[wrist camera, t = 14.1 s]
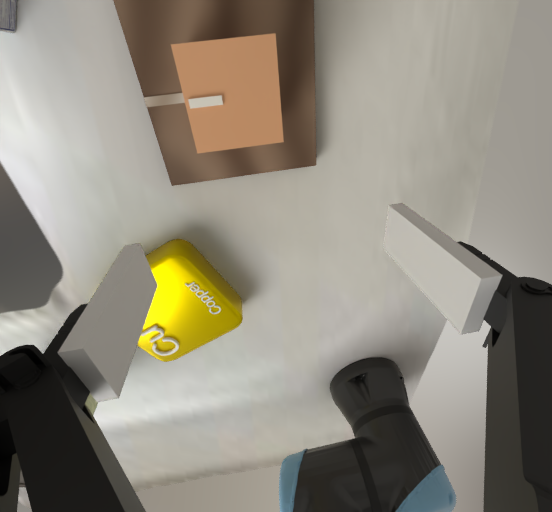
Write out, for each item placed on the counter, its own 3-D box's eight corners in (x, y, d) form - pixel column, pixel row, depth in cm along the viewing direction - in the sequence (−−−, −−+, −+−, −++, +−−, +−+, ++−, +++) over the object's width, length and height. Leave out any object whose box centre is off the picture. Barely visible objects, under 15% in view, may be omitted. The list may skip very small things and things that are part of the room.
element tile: (246, 302, 44) (248, 325, 40) (170, 343, 46) (164, 369, 42) (182, 231, 36) (176, 251, 32) (93, 286, 38) (78, 310, 34)
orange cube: (264, 41, 25) (275, 33, 19) (272, 127, 29) (284, 142, 23) (184, 50, 24) (170, 44, 18) (203, 136, 28) (197, 154, 22)
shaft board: (308, -30, 24) (332, -59, 18) (312, 161, 33) (329, 179, 27) (114, -12, 23) (79, -37, 17) (174, 181, 32) (163, 203, 26)
